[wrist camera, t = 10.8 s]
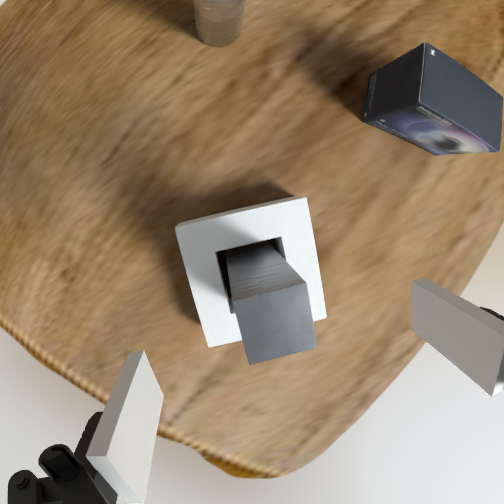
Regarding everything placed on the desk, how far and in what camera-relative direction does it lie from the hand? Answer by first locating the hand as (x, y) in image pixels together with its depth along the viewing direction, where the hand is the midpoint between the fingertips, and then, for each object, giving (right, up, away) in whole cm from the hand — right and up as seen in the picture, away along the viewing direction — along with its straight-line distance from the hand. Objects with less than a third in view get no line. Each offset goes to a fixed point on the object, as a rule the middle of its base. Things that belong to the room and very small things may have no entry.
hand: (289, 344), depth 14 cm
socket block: (-2, +3, +17) cm, 17 cm away
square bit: (-2, +3, +17) cm, 17 cm away
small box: (+15, +19, +16) cm, 29 cm away
